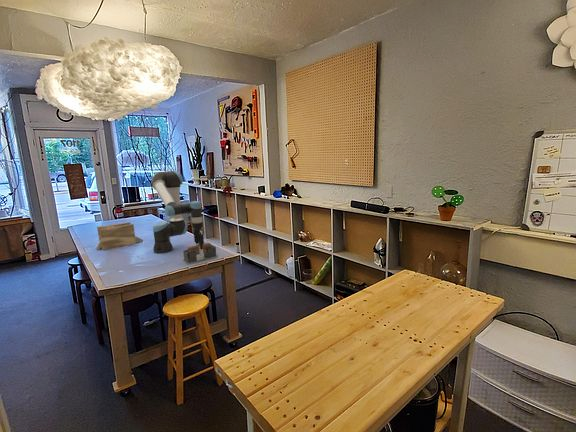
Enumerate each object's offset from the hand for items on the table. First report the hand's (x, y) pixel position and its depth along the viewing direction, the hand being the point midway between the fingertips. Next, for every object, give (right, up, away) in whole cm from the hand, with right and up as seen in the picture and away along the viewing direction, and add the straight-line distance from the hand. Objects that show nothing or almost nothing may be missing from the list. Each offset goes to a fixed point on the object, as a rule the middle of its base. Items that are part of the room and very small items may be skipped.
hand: (200, 252), depth 231 cm
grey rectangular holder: (0, -5, +1) cm, 5 cm away
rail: (0, -1, 0) cm, 1 cm away
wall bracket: (-84, +1, +43) cm, 94 cm away
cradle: (-85, +1, +43) cm, 96 cm away
